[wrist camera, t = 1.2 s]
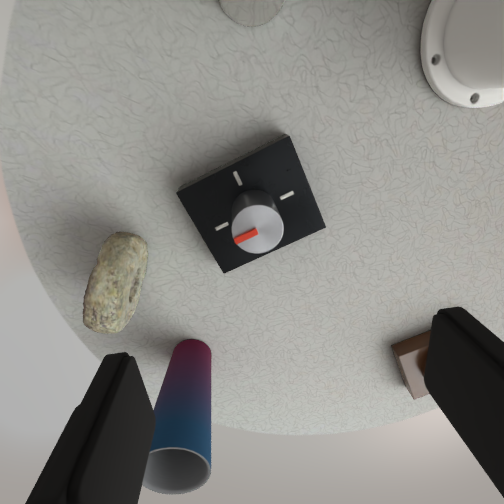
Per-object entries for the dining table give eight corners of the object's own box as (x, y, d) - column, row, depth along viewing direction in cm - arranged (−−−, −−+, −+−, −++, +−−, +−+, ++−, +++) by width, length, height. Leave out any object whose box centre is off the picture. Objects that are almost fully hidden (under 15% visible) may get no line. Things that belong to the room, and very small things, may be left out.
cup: (228, 358, 43) (225, 475, 29) (188, 380, 44) (168, 503, 30) (196, 324, 40) (178, 436, 26) (155, 350, 41) (117, 468, 28)
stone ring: (141, 300, 38) (113, 360, 29) (111, 293, 37) (72, 353, 28) (157, 224, 34) (130, 266, 25) (124, 215, 34) (84, 255, 25)
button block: (470, 314, 42) (493, 334, 38) (480, 360, 45) (501, 382, 42) (390, 345, 43) (405, 367, 40) (406, 387, 47) (420, 410, 43)
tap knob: (264, 181, 30) (271, 196, 25) (282, 220, 32) (292, 242, 27) (224, 201, 31) (222, 220, 26) (243, 238, 33) (245, 263, 27)
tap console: (285, 133, 31) (289, 135, 29) (320, 219, 35) (326, 227, 33) (179, 186, 33) (175, 193, 30) (224, 263, 37) (223, 274, 34)
